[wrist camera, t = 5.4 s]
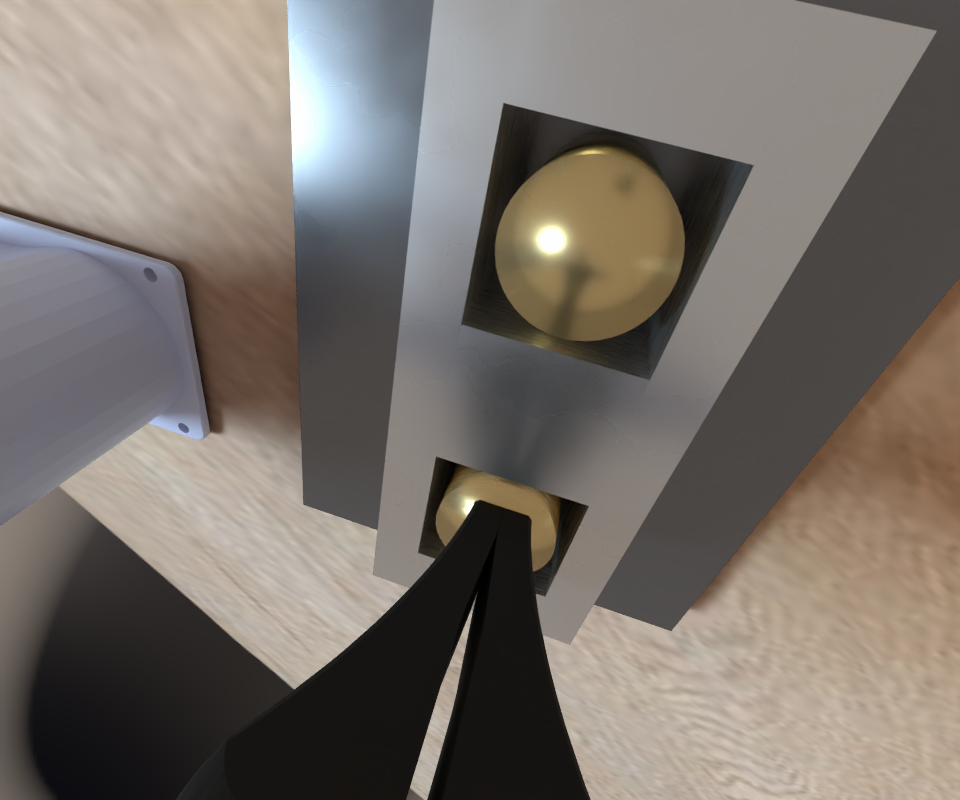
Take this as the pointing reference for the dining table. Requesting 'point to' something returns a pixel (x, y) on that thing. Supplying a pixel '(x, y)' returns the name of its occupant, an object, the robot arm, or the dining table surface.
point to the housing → (701, 282)
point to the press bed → (812, 285)
